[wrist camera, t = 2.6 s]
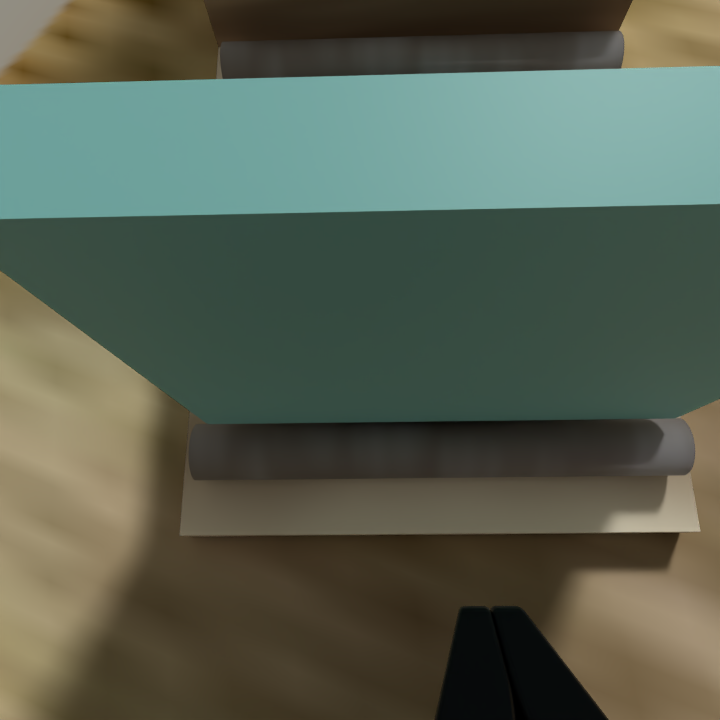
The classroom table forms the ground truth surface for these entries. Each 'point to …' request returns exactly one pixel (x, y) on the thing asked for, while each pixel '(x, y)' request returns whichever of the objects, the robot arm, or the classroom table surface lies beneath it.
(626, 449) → the roller track
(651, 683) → the classroom table surface
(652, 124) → the teal l-shaped block
